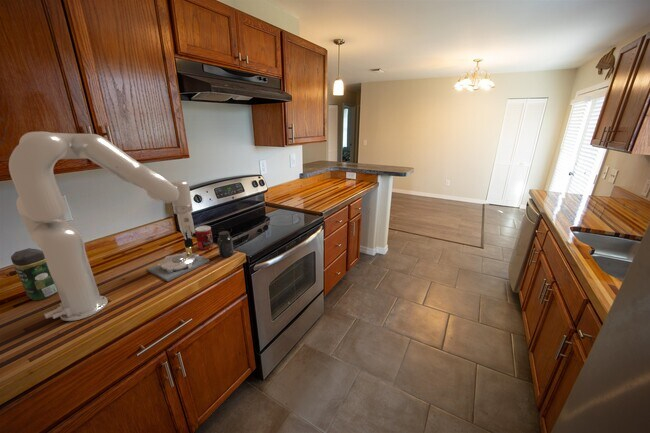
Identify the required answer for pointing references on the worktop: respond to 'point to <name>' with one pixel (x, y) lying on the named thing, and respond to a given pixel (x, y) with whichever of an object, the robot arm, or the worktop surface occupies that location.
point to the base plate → (170, 276)
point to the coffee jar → (34, 273)
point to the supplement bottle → (225, 244)
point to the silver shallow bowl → (178, 261)
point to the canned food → (204, 237)
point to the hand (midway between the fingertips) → (189, 246)
